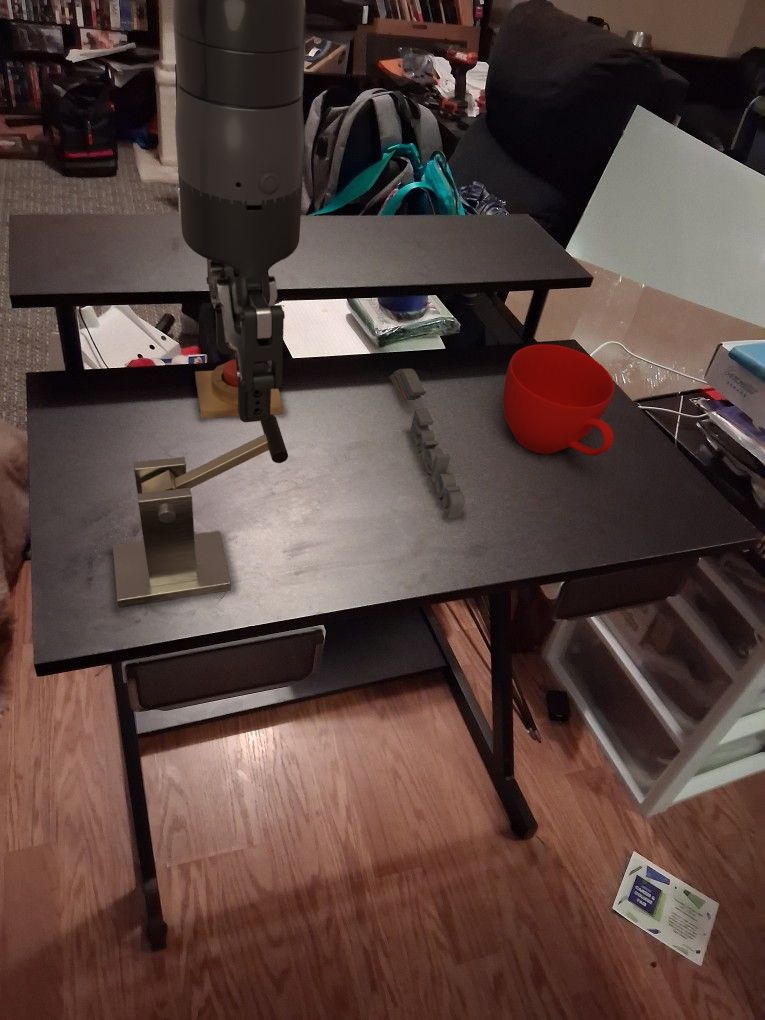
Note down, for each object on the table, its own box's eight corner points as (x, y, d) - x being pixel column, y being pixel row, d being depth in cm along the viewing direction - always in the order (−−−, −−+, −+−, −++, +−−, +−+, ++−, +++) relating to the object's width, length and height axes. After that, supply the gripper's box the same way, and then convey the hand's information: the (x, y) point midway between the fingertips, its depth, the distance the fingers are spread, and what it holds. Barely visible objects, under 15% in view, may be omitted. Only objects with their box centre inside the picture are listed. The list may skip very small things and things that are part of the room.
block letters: (388, 385, 99) (394, 350, 95) (399, 384, 100) (405, 349, 96) (447, 519, 83) (458, 483, 79) (460, 517, 84) (471, 482, 80)
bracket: (219, 538, 76) (217, 445, 67) (231, 590, 72) (229, 499, 63) (113, 552, 73) (95, 457, 64) (118, 608, 69) (99, 515, 60)
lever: (281, 425, 67) (269, 407, 65) (293, 462, 63) (281, 445, 62) (154, 488, 67) (139, 472, 66) (160, 527, 64) (144, 512, 62)
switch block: (201, 418, 89) (200, 398, 87) (195, 378, 94) (194, 359, 92) (282, 413, 92) (283, 394, 90) (272, 375, 97) (273, 356, 95)
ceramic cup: (546, 503, 87) (574, 439, 80) (470, 416, 97) (489, 353, 90) (626, 477, 93) (659, 415, 85) (547, 398, 102) (570, 336, 95)
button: (225, 389, 90) (225, 377, 88) (222, 371, 92) (221, 359, 91) (255, 387, 90) (255, 376, 89) (251, 370, 93) (251, 358, 92)
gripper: (161, 122, 48) (178, 335, 60) (198, 224, 39) (209, 450, 51) (274, 124, 50) (269, 328, 62) (333, 220, 41) (314, 438, 53)
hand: (242, 383), depth 56 cm, fingers open, 8 cm apart
